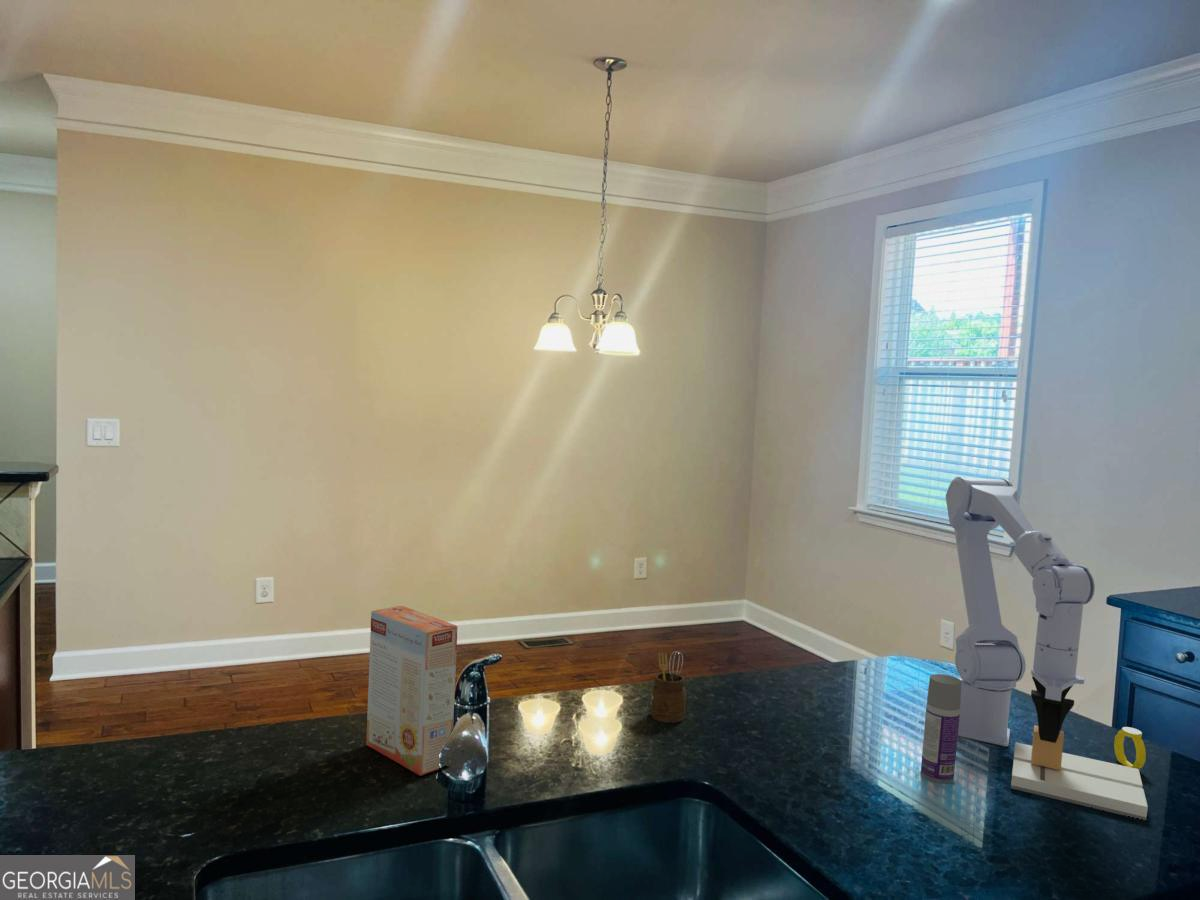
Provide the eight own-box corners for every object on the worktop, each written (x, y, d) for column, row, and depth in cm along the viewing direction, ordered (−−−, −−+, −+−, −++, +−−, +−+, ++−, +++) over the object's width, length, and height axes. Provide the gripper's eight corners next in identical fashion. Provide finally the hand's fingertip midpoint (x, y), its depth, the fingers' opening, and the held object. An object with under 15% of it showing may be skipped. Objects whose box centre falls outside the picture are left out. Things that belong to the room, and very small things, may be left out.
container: (952, 772, 131) (961, 676, 130) (954, 785, 127) (963, 686, 125) (920, 766, 133) (928, 671, 131) (920, 779, 128) (929, 681, 127)
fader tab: (1029, 773, 131) (1033, 731, 130) (1030, 766, 133) (1034, 725, 133) (1059, 780, 129) (1063, 737, 128) (1059, 772, 131) (1063, 731, 131)
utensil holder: (690, 716, 148) (695, 648, 147) (673, 727, 143) (678, 656, 142) (660, 707, 151) (664, 640, 150) (642, 718, 146) (646, 649, 145)
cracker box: (454, 766, 124) (460, 624, 123) (419, 778, 120) (424, 631, 118) (398, 735, 134) (403, 603, 132) (364, 745, 129) (369, 609, 128)
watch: (1147, 776, 135) (1153, 740, 134) (1130, 775, 134) (1135, 739, 134) (1124, 756, 140) (1129, 722, 140) (1107, 755, 140) (1112, 721, 140)
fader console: (1010, 788, 127) (1012, 774, 127) (1014, 754, 139) (1015, 741, 139) (1146, 820, 119) (1147, 806, 119) (1137, 781, 131) (1138, 768, 131)
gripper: (1089, 662, 121) (1079, 755, 122) (1085, 637, 134) (1076, 722, 135) (1033, 653, 124) (1024, 743, 126) (1035, 629, 137) (1026, 711, 138)
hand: (1047, 731), depth 131 cm, fingers open, 7 cm apart
